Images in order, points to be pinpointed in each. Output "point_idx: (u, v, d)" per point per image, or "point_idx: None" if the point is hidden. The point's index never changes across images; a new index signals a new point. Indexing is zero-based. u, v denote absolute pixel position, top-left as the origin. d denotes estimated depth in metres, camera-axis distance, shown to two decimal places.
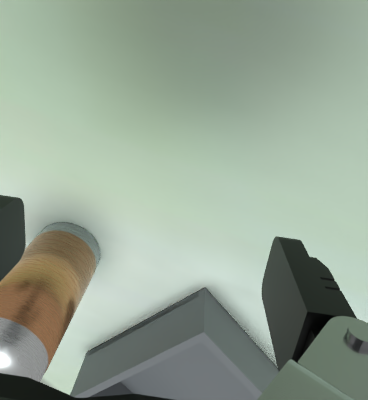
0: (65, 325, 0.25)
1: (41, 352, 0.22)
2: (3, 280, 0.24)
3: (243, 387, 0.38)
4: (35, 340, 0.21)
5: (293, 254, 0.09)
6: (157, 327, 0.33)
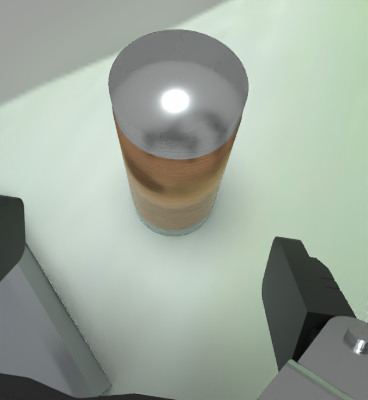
0: (168, 186, 0.18)
1: (193, 153, 0.15)
2: None
3: None
4: (211, 149, 0.15)
5: (293, 254, 0.09)
6: (58, 308, 0.22)
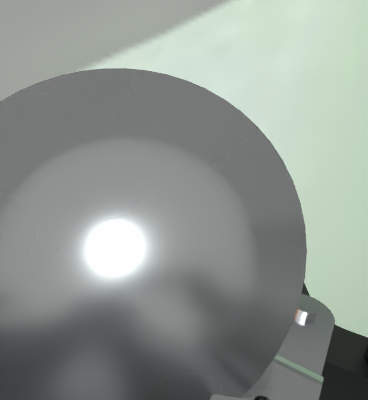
0: None
1: None
2: None
3: None
4: None
5: None
6: None
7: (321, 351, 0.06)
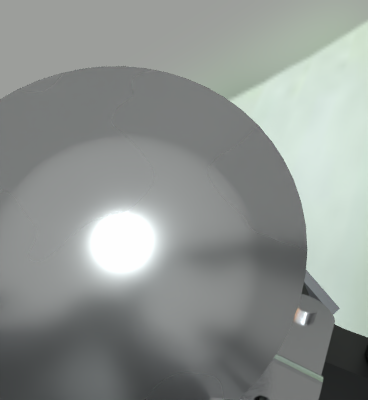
0: None
1: None
2: None
3: None
4: None
5: None
6: None
7: (321, 351, 0.06)
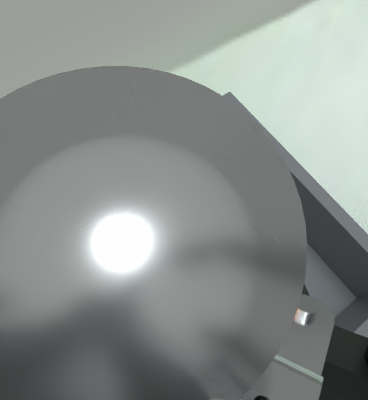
0: None
1: None
2: None
3: None
4: None
5: None
6: None
7: (321, 351, 0.06)
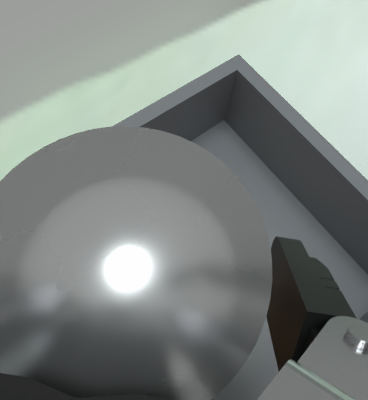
0: None
1: None
2: None
3: None
4: None
5: (293, 254, 0.09)
6: None
7: None
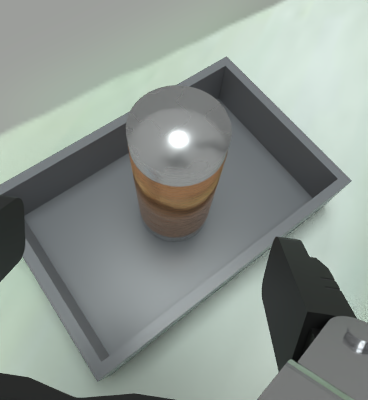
0: (170, 204, 0.23)
1: (190, 182, 0.20)
2: None
3: (191, 246, 0.31)
4: (203, 179, 0.20)
5: (293, 254, 0.09)
6: None
7: None
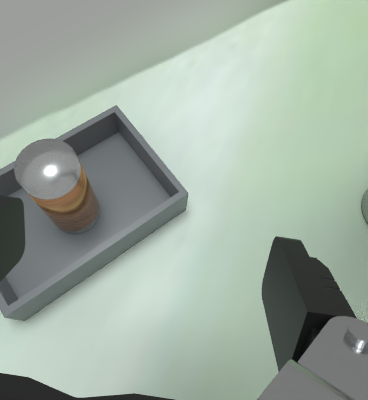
0: (50, 209, 0.37)
1: (52, 197, 0.34)
2: None
3: (86, 237, 0.45)
4: (61, 195, 0.34)
5: (293, 254, 0.09)
6: None
7: None
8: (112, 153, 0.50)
